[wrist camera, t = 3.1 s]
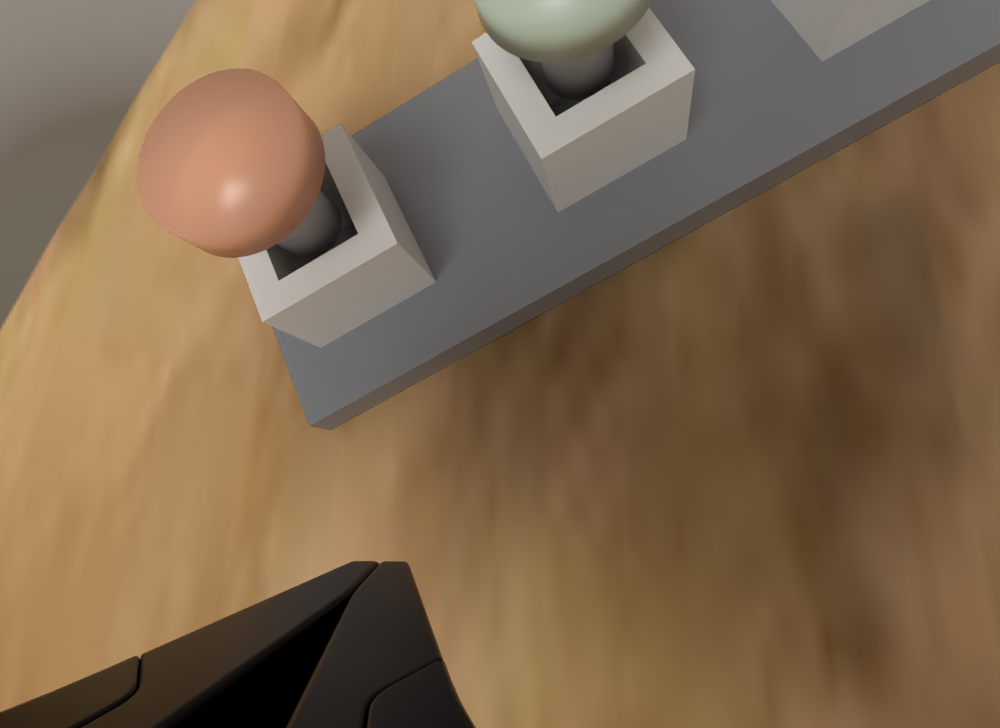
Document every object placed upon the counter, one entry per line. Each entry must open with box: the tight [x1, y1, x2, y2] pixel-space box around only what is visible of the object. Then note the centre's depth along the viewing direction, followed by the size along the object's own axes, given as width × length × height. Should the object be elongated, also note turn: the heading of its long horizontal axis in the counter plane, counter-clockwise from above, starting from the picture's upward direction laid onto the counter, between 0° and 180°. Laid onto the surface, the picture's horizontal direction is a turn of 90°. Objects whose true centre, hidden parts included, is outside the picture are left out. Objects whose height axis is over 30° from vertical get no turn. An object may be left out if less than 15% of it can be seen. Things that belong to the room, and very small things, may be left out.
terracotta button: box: [137, 69, 342, 258], centre depth 17 cm, size 5×5×5 cm
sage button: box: [474, 0, 653, 100], centre depth 16 cm, size 5×5×5 cm
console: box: [238, 0, 1000, 430], centre depth 20 cm, size 10×28×5 cm, turn 116°
